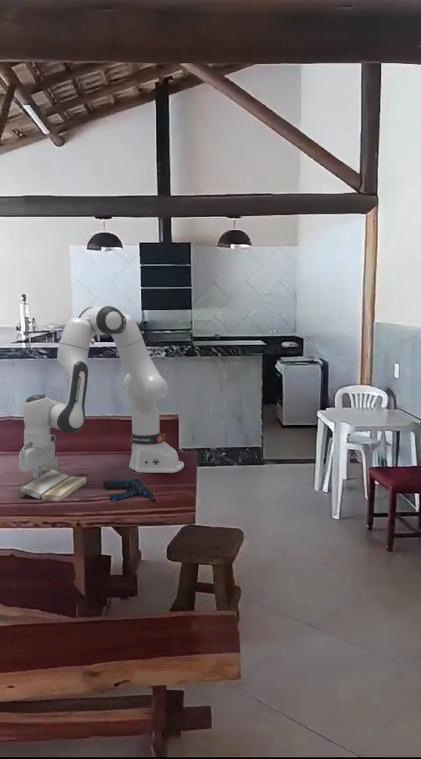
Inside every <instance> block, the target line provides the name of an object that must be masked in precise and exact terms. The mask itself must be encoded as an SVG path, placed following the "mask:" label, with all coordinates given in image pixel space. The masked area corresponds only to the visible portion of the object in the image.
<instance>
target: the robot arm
mask: <svg viewBox="0 0 421 759" xmlns="http://www.w3.org/2000/svg"><path fill="white" fill-rule="evenodd" d="M104 335H106V336H107V335H108V336H111V338H112V339H113V342H114V345H115V349H116V350H117V354H118V356H119V358H120V361H121V364H122V366H123V368H125V370H126V371H127V374H126V375H125V377H124V380H123V388H124V390H125V391H126V395H127V398H128V401H129V402H128V404H129V407H130V411H131V412H130V413H131V429H132V432H131V435H130V442H131V456H130V461H129V464H128V467H129V469H131V470H134V471H135V472H136V473H147V474H148V473H152V474H155V473H162V474H163V473H164V474H165V473H166V474H174V473H177V472H180V471H181V470H182V469H184V468H185V463H184V462H183V461H181V460H180V459H179V455H178V452H177V450H176V449H175V448H173V446H171V445H169V444H168V443H167V442H165V437H166V436H165V435H166V433H161V431H160V412H159V410H158V408H157V406H156V403H155V402H159V401H162V400H163V399H164V398H165V397H166V396H167V395H168V391H169V386H168V382H167V381H166V380H165V379H164V377H162V375H161V373H160V372H159V370H158V369H157V366H156V365H155V364H154V362H153V360H152V358H151V356H150V354H149V352H148V350H147V346H146V344H145V341H144V338H143V335H142V332H141V331H140V328H139V326H138V324H137V322H136V320H135V319H134V318H133V316H132V315H130V314H127V313H125V314H124V313H122V312H121V311H120V310H119V309H118V308H116V307H114V306H112V305H97V306H90V307H89V306H88V307H87V308H85V309H84V310H82V312H81V313H80V314H79V316H78V317H72V318H69V319H68V320H67V322H66V324H65V325H64V328H63V331H62V334H61V336H60V340H59V343H58V346H57V347H58V348H57V353H56V354H57V358H56V360H57V362H58V365H60V367H61V368H62V369H63V370H64V371H65V373H66V374H67V376H68V378H69V388H68V395H67V402H66V403H63V402H59V401H57V400H53V399H51V398H49V397H48V396H47V395H45V394H35V395H32V396H30V397H28V398H26V399H25V402H24V405H23V423H24V430H23V439H24V440H23V444H24V445H23V446H22V448H21V450H20V452H19V456H18V470H19V471H20V472H24V473H25V472H26V473H27V472H30V471H31V472H32V475H33V476H32V477H33V478H32V479H34V478H39V477H40V476H42V469H43V464H44V463H46V462H48V461H50V460H52V459H53V458H54V457H55V455H56V454H55V453H56V452H55V451H56V444H55V441H56V439H57V438H56V435H55V434H52V433H51V434H49V429H50V428H52V429H53V428H54V429H56V430H59V431H62V432H63V433H65V434H67V435H74V434H77V433H78V432H79V431H80V430H81V429H83V427H84V425H85V422H86V411H85V408H86V407H85V404H86V403H85V402H86V396H87V388H88V382H89V381H88V380H89V379H88V378H89V368H88V358H89V350H90V347H91V342H92V340H93V338H94V337H95V336H104Z"/></svg>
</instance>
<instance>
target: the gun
mask: <svg viewBox="0 0 421 759" xmlns="http://www.w3.org/2000/svg"><path fill="white" fill-rule="evenodd" d="M103 487H104V488H105V490H108V491H110V490H126V492H121V493H117V494H116V493H114V494H112V495H109V500H110V501H112V502H118V501H122V499H123V500H126V499H130V498H134V497H137V496H140V497H144V499H146V498H147V499H149V500H150V501H151V502H153V501H155V502H156V501H157V499H156V498H155V497H154V494H153V492H152V491H151V490H149V488H147V487H146V485H144V483H143V482H142V481H141V480H140V479H138V478H133V479H127V480H117V479H115V480H113V479H112V480H110V479H109V480H106V481H103Z"/></svg>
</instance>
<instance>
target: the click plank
mask: <svg viewBox="0 0 421 759" xmlns="http://www.w3.org/2000/svg"><path fill="white" fill-rule="evenodd" d="M68 477H69V475H68V474H66V473H62V472H60V471H55V470H52V469H49V470H47V471H46V472H44V473H42V476H40V477H39V478H32V479H30V480H28V481H27V482H25V483H24V484H22V485H20V487H19V492H20V493H23V494H25V495H28V496H31V497H33V498H36V499H39V500H42V494H43V493H44V492H46V491H48V490H49V489H51V488H52V487H54V486H55V485H57V484H58V483H60V482H61V481H63V480H65V479H66V478H68Z"/></svg>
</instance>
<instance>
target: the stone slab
mask: <svg viewBox="0 0 421 759" xmlns="http://www.w3.org/2000/svg"><path fill="white" fill-rule="evenodd" d="M59 465H60V464H59V458H58V457H56V456H54V458H53V459H52V460H50V461H48V462H46V463H44V464H43V469H42V473H44V472H46V471H47V470H49V469H52V470H55V471H57V472H59Z"/></svg>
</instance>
